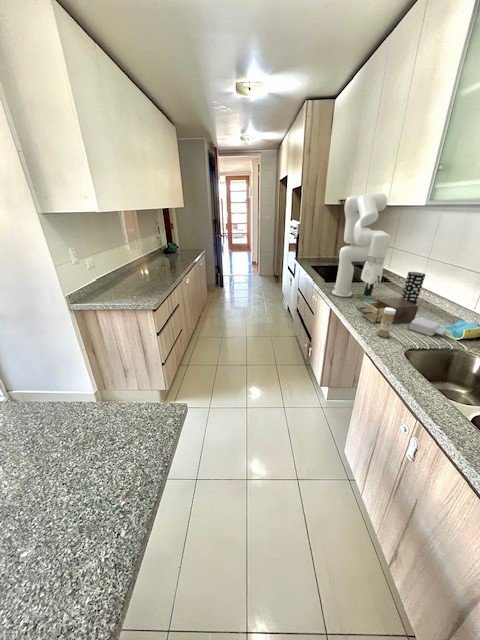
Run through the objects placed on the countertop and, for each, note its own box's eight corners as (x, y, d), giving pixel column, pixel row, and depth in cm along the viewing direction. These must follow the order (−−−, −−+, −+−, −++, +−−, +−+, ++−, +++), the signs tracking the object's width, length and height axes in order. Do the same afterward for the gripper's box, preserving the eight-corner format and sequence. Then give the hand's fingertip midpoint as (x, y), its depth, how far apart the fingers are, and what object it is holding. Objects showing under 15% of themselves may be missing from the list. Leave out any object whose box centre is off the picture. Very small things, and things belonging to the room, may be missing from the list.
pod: (362, 307, 153) (363, 299, 151) (368, 307, 154) (370, 299, 152) (366, 310, 150) (368, 302, 147) (372, 309, 150) (374, 301, 148)
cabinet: (388, 323, 133) (392, 307, 130) (373, 314, 145) (377, 298, 141) (413, 322, 136) (418, 306, 132) (396, 312, 147) (401, 297, 143)
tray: (364, 323, 132) (367, 310, 128) (352, 314, 142) (355, 302, 139) (396, 321, 134) (400, 308, 131) (382, 312, 144) (385, 300, 141)
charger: (444, 341, 117) (408, 329, 128) (451, 335, 122) (416, 324, 133) (448, 332, 115) (411, 321, 126) (454, 326, 120) (418, 316, 131)
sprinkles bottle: (381, 337, 120) (388, 311, 114) (375, 333, 124) (382, 307, 118) (390, 337, 120) (398, 310, 115) (384, 332, 124) (392, 306, 119)
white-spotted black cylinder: (403, 302, 161) (412, 271, 152) (417, 307, 154) (428, 274, 146) (396, 305, 157) (405, 273, 148) (410, 310, 150) (421, 276, 142)
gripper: (359, 256, 132) (352, 290, 140) (378, 263, 118) (369, 301, 126) (373, 256, 133) (365, 290, 141) (393, 263, 119) (383, 300, 127)
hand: (367, 295), depth 133 cm, fingers closed
